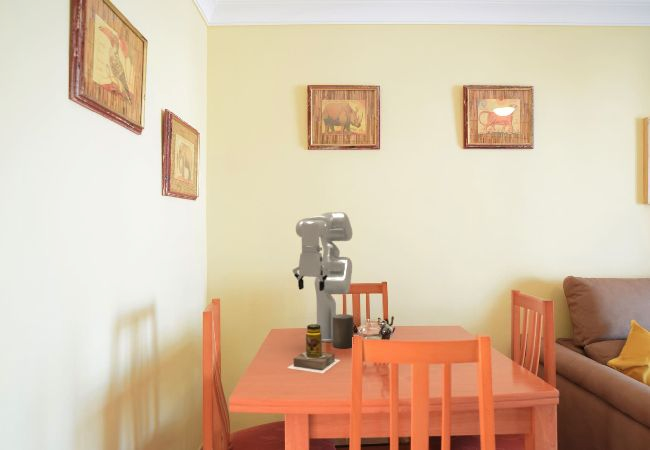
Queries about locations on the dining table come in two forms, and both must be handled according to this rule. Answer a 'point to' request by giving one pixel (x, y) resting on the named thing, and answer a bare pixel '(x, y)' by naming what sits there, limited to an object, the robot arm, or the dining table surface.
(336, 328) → the pillar candle
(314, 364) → the plinth
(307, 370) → the base board
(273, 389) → the dining table surface
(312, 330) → the condiment
